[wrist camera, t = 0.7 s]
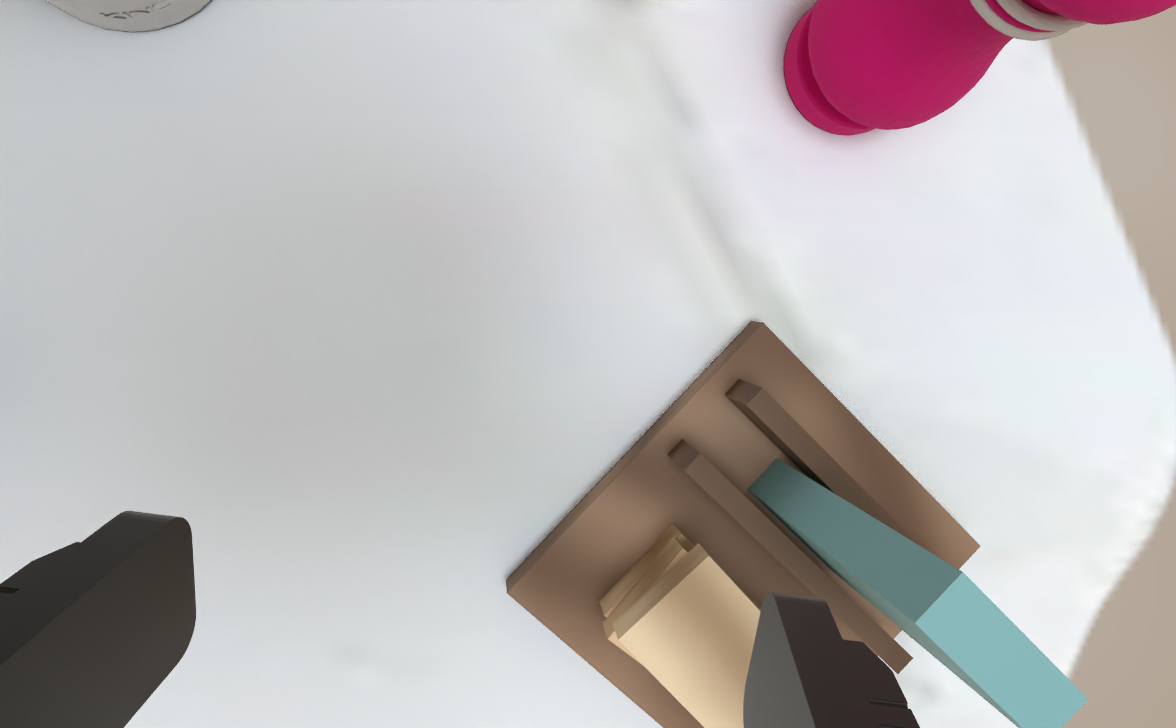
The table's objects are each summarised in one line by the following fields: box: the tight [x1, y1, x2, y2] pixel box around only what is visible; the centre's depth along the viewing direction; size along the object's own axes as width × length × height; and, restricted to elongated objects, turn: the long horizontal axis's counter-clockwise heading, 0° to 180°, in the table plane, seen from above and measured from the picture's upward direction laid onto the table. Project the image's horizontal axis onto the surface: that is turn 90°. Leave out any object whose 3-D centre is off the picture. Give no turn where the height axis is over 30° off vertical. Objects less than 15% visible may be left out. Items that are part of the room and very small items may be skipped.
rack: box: [506, 321, 980, 728], centre depth 35 cm, size 17×16×4 cm
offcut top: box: [612, 543, 761, 728], centre depth 32 cm, size 5×9×2 cm, turn 42°
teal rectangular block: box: [748, 458, 1088, 728], centre depth 29 cm, size 2×6×14 cm, turn 46°
